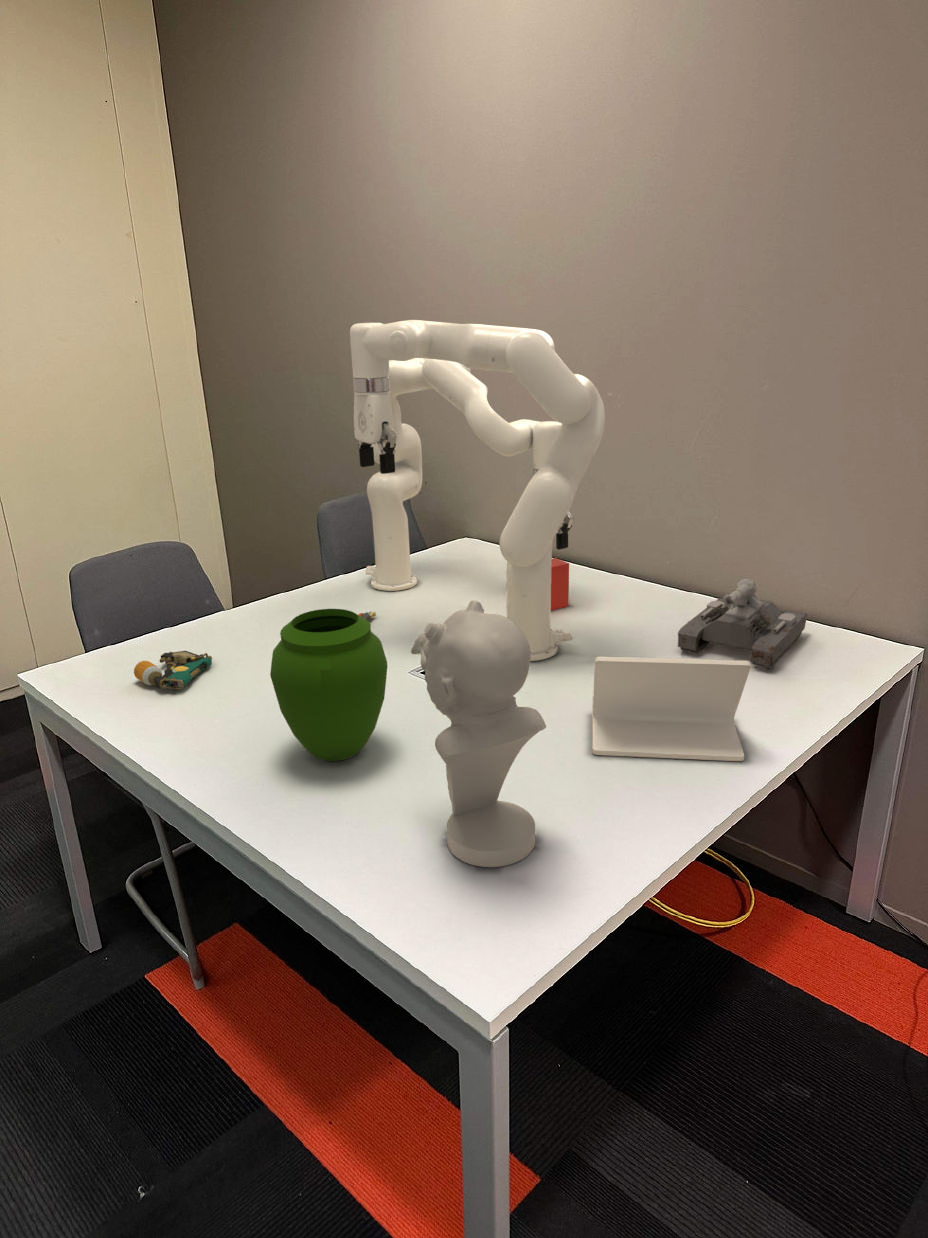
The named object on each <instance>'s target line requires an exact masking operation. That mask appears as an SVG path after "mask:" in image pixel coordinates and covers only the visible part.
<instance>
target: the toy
mask: <svg viewBox="0 0 928 1238" xmlns="http://www.w3.org/2000/svg"><path fill="white" fill-rule="evenodd" d="M757 590H758V589H757V584H756V583H755V582H754V580H752V579H750V578H743V579H741V580H740V581H738V582H737V585H736V588H735V589H734V590H733V591H732V592H730V593H725V594H724V596H723V597H722V598H720V597H719V598H717V599H716V600H711V601H710V602H709V603H707V604H706V607H705V608H704V609H703V610H701V612H699V613H698V614H697V615H696V616H694V617H692V619H690V620H688V622H686V623H685V624H684V625H682V626H681V627H680V629H679V630H678V632H677V647H679V649H680V650H681V651H683V652H688V653H693V654H699V653H700V652H701V651H703V650H704V649H705V648H706V647H707V646H708V645H710V644H713V645H718V646H724V647H728V648H734V649H738V650H743V651H748V652H750V661H749V662H750V663H752V665H755V666H759V667H764V668H769V669H772V668H773V667H774V665H776V664H777V662H778V661H779V660H781V658H782V657H783V656H784V655H785V654H786V652H788V651H789V650H790V648H791V647H792V646H793V645H794V644H795V643H797V640H799V638H801V635H802V633H803V631H804V630H805V628H806V624H807V619H808V613H803V612H799V611H793V610H786V611H785V612H783V611H781V610H780V608H778V606H777V605H775V603H774V602H773V601H772V600H765V599H759V598H758V596H756V595H755V594H756V592H757Z"/></svg>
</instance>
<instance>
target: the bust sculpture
mask: <svg viewBox="0 0 928 1238" xmlns="http://www.w3.org/2000/svg"><path fill="white" fill-rule="evenodd" d="M530 653H531V652H530V646H529V643H528V640H527V638H526V636H525V634H524V633H523V632H522V630H521V629H520V628H519V627H518V626H517V625H516V624H515V623H514V622H513V621H512V620H511V619H509V618H507V616H504V615H503V614H502V615H501V614H496V613H485V609H484V607H483V605H482V603H481V602H480V601H478V600H473V599H472V600H470V601H469V603H468V605H467V607H466V609H460V610H457V611H455V612H453V613H451V615H449V616H448V617H447V618H446V619H445V620H444V622H442V624H441V623H435V622H430V623H428V624H427V625H426V626H425V628H424V632H423V633H421V634H419V635H418V636H417V637H416V638H415V640H414V642H413V645H412V647H411V649H410V654H412V655H420V667H421V669H422V670H423V672H424V681H425V682H426V690H427V693H428V696H429V698H430V701H431V702H432V704H434V706H435V708H436V710H438V711H439V712H440V713H441V714H442V716H446V717H447V718H448V719H449V720H450V726H448V727H446V728H445V729H443V730H442V731H441V732H440V733H439V734H438V735H436V738H435V741H434V748H435V749H436V752H437V753H438V755H439V757H440V758H441V760H442V761H443V762H444V763H445V771H446V781H447V790H448V796H449V800H450V803H451V810H452V813H451V814H450V815H449V817H448V819H447V822H446V844H447V847H448V849H449V851H450V852H451V854H452V855H453V856H454V857H456V858H457V859H459V860H460V861H462V862H463V863H466V864H469V865H471V866H476V867H483V868H498V867H505V866H509V865H512V864H517V862H520V861H521V860H523V859H525V858H527V856H528V855H530V854H531V852H532V851H533V849H535V848H534V847H535V845H536V822H535V821H536V820H535V819H534V817H533V816H532V814H531V813H530V812H529V811H528V810H526V809H525V808H524V807H522V806H520V805H517V804H515V803H513V802H509V801H504V800H499V796H500V793H501V790H502V788H503V785H504V783H505V780H506V778H507V776H508V773H509V771H510V769H511V768H512V765H513V763H514V761H515V760H516V759H517V756H518V755H519V753H520V752H521V750H522V749H523V748H524V747H525V745H526V744H527V743H528V742H529V741H530V740H531V739H532V738H533V737H535V735H537V734H538V733H539V732H541V731H544V730H545V729H546V728H547V725H546V723H545V720H544V718H543V717H542V714H541V713H540V712H539V711H538V710H537V709H535V708H533V707H530V706H518V705H517V701H516V699H517V698H516V696H515V695H516V694H517V693H519V691H521V689H522V688H523V686H524V684H525V683H526V680H527V678H528V675H529V669H530V666H531V661H530V656H531V655H530Z"/></svg>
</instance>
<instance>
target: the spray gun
mask: <svg viewBox="0 0 928 1238" xmlns="http://www.w3.org/2000/svg"><path fill="white" fill-rule="evenodd" d="M212 660H213V657H212V656H211V655H208V653H207V652H205V653H201V654H197V653H194V652H192V651H191V652H190V651H188V650H180V651H169V652H164V653H162V654H161V655H160V658H159V660H158V662H159V663H161V664H163V663H165V664H166V668H165V670H163V672H164V674H163V673H162V669H160V668H159V666H157V665H156V664H154V663H152V662H151V661H149V660H141V661H139V662H138V663H136V665H135V666H134V668H133V675H134V677H135V678H136V679H137V680H139V681H140V682H142V683H143V684H145V685H147V686H155V685H157V686H158V687H160V688H161V689H171V690H172V689H173V690H182V689H184V687H185V686H186V685H188V684H189V683H190V682H191V681H192V679H193V678H195V677H196V676H197V675H198V674H200V673H201V672H202V671H203V670H206V669H208V668H209V667H210V666H211V665H212V662H213V661H212ZM178 663H179V664H181V665H179V666H176V665H177V664H178Z"/></svg>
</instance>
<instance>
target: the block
mask: <svg viewBox="0 0 928 1238" xmlns="http://www.w3.org/2000/svg"><path fill="white" fill-rule="evenodd" d="M569 589H570V562H567V561H564V560H562V559H559V558H556V557H554V558H553V557H552V563H551V612H552V611H555V610H560V609H563V608H567V607H569V605H570V604H569V603H570V601H569V600H570V599H569V594H570V590H569Z"/></svg>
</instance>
